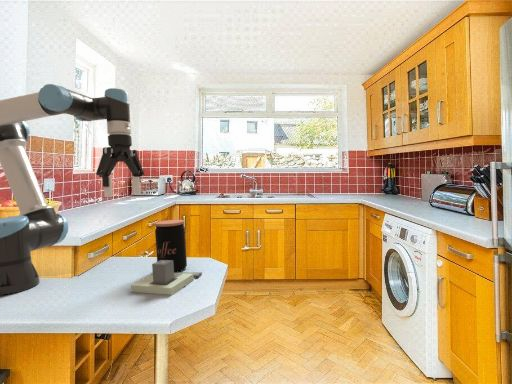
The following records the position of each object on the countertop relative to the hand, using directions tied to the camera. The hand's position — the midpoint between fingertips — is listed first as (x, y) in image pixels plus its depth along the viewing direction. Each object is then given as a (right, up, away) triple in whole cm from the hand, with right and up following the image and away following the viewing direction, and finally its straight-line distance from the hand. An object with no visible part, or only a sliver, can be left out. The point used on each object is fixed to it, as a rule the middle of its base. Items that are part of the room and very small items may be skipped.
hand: (123, 195), depth 104 cm
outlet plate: (+18, -28, -11) cm, 35 cm away
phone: (+24, -28, -3) cm, 37 cm away
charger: (+18, -29, -12) cm, 36 cm away
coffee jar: (+16, -28, +6) cm, 33 cm away
